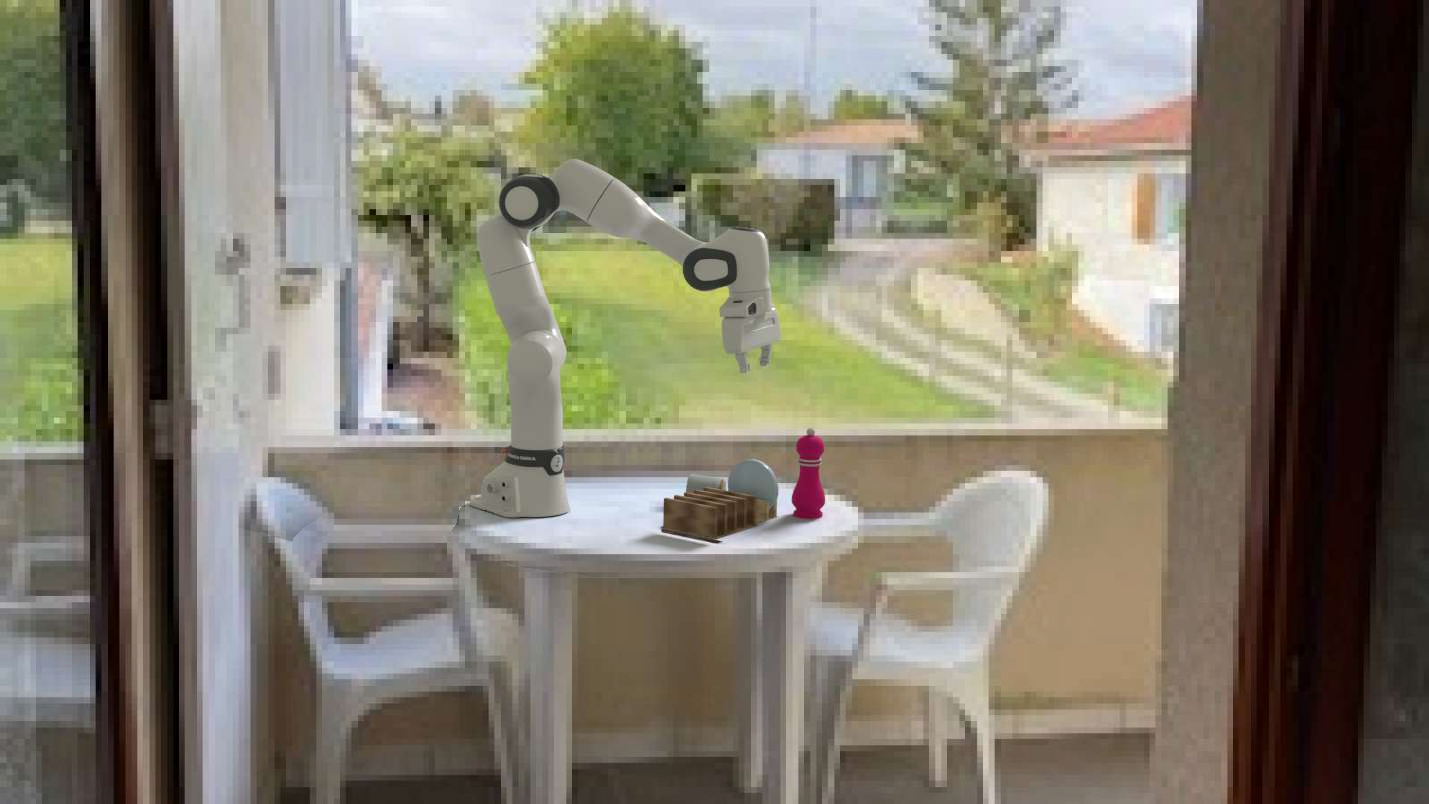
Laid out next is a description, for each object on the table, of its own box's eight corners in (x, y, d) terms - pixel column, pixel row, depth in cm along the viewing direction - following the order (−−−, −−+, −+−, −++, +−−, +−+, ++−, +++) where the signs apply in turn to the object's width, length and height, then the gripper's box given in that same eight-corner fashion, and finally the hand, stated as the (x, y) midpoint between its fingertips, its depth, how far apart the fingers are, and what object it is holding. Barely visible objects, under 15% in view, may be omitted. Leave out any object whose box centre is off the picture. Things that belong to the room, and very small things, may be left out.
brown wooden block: (724, 518, 313) (725, 495, 312) (740, 513, 318) (741, 491, 317) (763, 526, 307) (764, 502, 306) (779, 520, 312) (780, 498, 311)
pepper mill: (783, 519, 314) (786, 427, 311) (806, 514, 319) (809, 423, 316) (809, 525, 309) (812, 432, 306) (831, 520, 314) (835, 428, 311)
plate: (727, 511, 315) (728, 456, 313) (731, 510, 317) (732, 455, 315) (773, 520, 308) (775, 464, 306) (777, 519, 310) (779, 463, 308)
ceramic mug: (721, 514, 317) (722, 479, 316) (684, 512, 318) (685, 477, 317) (728, 504, 327) (729, 470, 326) (691, 502, 328) (692, 468, 327)
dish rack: (661, 532, 300) (661, 497, 299) (702, 519, 312) (703, 486, 311) (716, 543, 292) (717, 508, 291) (757, 530, 304) (758, 496, 303)
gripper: (759, 298, 317) (763, 361, 320) (715, 309, 300) (719, 376, 302) (785, 298, 314) (789, 361, 317) (742, 309, 297) (746, 376, 299)
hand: (755, 369), depth 309 cm, fingers open, 8 cm apart
